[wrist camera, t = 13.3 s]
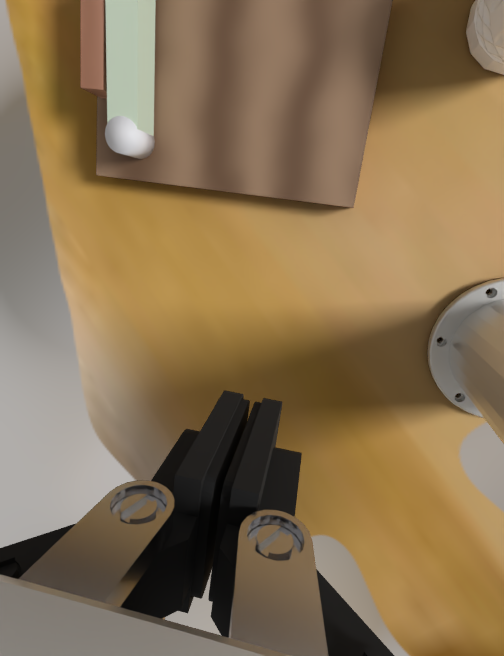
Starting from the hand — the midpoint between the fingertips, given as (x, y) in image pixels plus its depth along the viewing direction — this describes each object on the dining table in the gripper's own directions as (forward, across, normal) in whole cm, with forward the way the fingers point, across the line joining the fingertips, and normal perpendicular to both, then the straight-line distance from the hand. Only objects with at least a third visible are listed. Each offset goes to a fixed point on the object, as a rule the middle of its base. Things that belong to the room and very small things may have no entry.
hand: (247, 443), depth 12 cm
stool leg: (+24, +15, -17) cm, 33 cm away
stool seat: (+27, +8, -16) cm, 32 cm away
